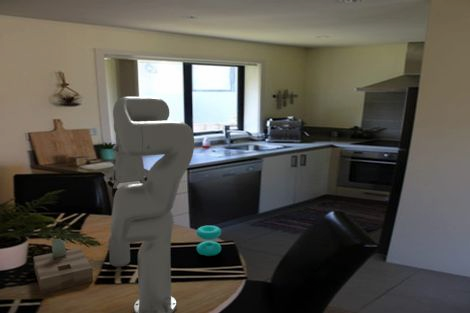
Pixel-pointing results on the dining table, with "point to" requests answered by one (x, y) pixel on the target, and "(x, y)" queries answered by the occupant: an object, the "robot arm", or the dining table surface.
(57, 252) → the peg
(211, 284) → the dining table surface
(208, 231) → the donuts
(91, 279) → the block
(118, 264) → the can
